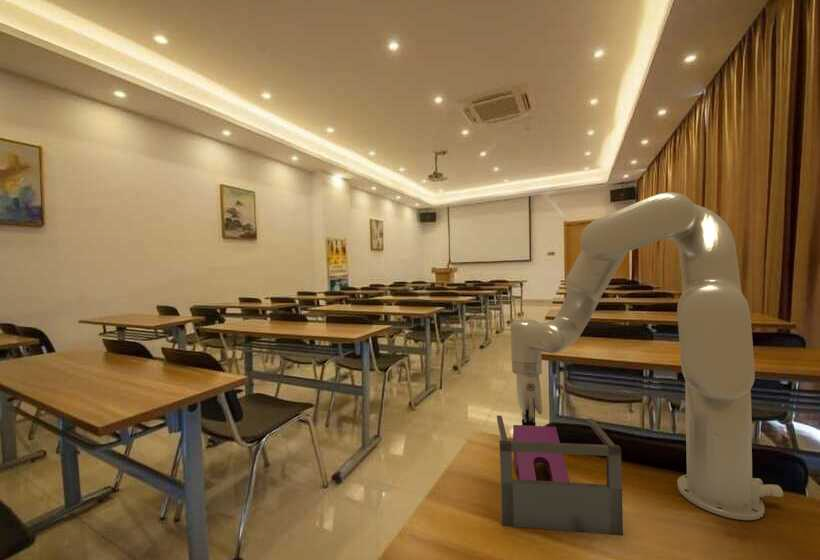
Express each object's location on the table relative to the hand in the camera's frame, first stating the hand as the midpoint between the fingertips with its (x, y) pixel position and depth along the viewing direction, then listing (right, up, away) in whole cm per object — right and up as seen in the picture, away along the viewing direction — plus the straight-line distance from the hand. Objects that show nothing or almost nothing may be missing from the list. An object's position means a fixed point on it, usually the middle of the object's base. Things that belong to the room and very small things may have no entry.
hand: (529, 435), depth 92 cm
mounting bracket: (-4, -3, -18) cm, 19 cm away
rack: (-4, -2, -25) cm, 26 cm away
